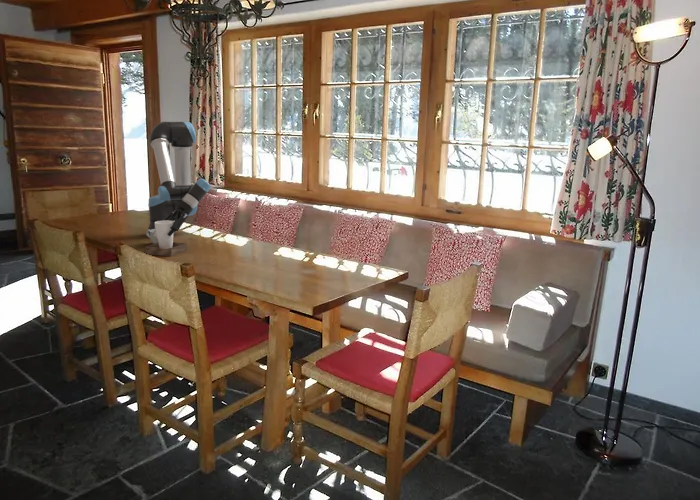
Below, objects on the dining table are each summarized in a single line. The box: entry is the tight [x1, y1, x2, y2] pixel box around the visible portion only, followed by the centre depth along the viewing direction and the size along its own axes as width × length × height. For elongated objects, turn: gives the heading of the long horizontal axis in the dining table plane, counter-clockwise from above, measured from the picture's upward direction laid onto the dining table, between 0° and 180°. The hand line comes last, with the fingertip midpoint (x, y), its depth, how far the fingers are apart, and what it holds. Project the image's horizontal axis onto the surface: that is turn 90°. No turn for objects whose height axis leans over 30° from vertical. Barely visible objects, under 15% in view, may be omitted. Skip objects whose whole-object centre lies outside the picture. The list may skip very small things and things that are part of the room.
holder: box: [144, 241, 188, 257], centre depth 274 cm, size 15×15×4 cm
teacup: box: [145, 229, 158, 244], centre depth 290 cm, size 14×11×8 cm
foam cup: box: [155, 220, 174, 249], centre depth 272 cm, size 10×9×13 cm
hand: (159, 238), depth 270 cm, fingers closed on foam cup, 9 cm apart
